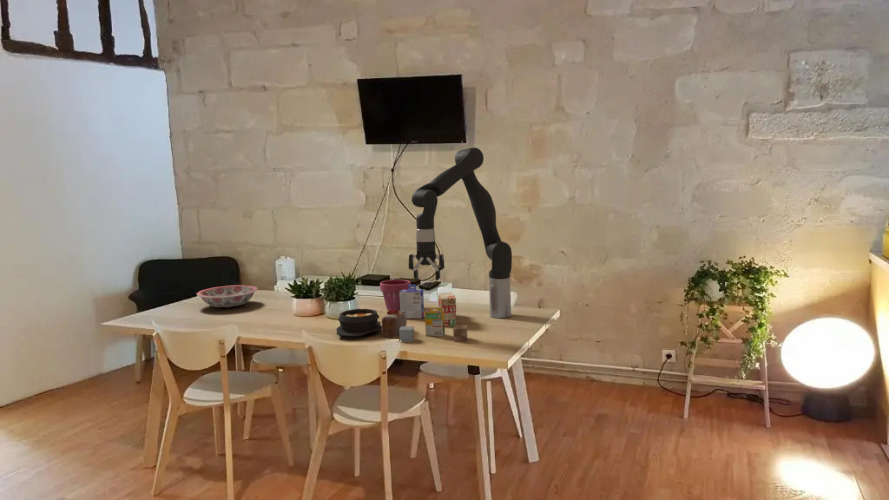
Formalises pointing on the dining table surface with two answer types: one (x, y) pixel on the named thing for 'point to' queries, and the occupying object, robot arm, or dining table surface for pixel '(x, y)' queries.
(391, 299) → the plant pot
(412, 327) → the slate-grey block
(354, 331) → the casserole
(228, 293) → the ceramic bowl
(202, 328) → the dining table surface
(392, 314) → the food item
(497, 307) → the robot arm
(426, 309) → the crayon box
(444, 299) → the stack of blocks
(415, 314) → the ink cartridge box
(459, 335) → the walnut block
